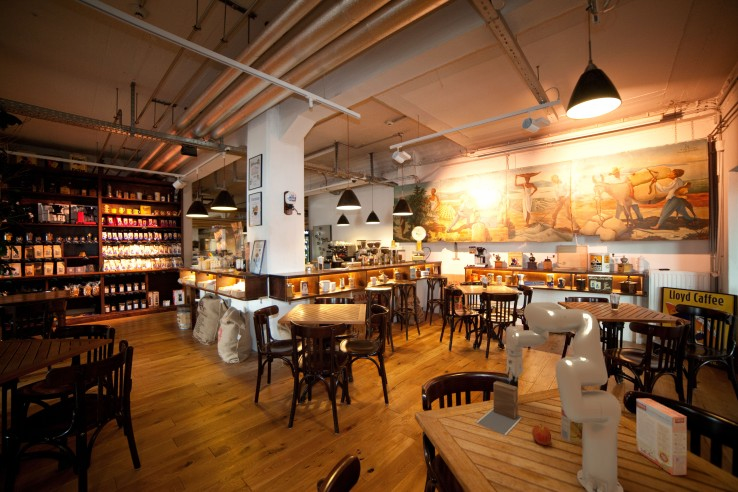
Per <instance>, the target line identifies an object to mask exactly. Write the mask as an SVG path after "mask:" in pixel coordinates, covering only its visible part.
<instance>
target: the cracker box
mask: <svg viewBox="0 0 738 492" xmlns="http://www.w3.org/2000/svg"><path fill="white" fill-rule="evenodd" d="M635 401H636V406H635V407H636V415H635V416H636V427H635V428H636V432H635V433H636V434H635V435H636V439H635V441H636V445H635V446H636V451H637V452H638V453H640V454H641V455H642V456H644V457H645V458H646V457H647V458H646V459H648V460H649V461H651V462H652V463H654V464H655V465H656V466H658V467H659V466H660V467H659V468H661V469H662V468H663V469H662V470H663V471H665V472H666V473H668V474H669V473H670V475H671V476H687V474H688V473H687V472H688V471H687V469H688V467H687V466H688V465H687V464H688V459H687V458H688V457H687V454H688V453H687V451H688V450H687V449H688V448H687V445H688V444H687V439H688V438H687V437H688V435H687V434H688V432H687V428H688V427H687V421H688V420H687V416H686V415H684V414H682V413H679V412H678V411H676V410H674V409H672V408H670V407H667V406H665V404H661V403H659V402H657V401H656V400H653V399H652V398H647V397H646V398H636V399H635Z"/></svg>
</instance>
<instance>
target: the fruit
mask: <svg viewBox="0 0 738 492" xmlns="http://www.w3.org/2000/svg"><path fill="white" fill-rule="evenodd" d="M531 433H532V434H531V435H532V437H533V439H534V441H536V443H538V444H539V445H542V446H546V445H549V444H550V442H552V433H551V431H550V429H549V428H548V426H546V425H542V423H540V424H536V425H534V426H533V427H532V429H531Z"/></svg>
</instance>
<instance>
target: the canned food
mask: <svg viewBox="0 0 738 492" xmlns="http://www.w3.org/2000/svg"><path fill="white" fill-rule="evenodd" d="M560 412H561V413H560V415H561V416H560V417H561V418H560V422H561V423H560V424H561V426H560V427H561V428H560V429H561V431H560V432H561V433H560V434H561V438H562V439H564V440H565V441H567V442H569V443H571V444H577V445H581V444H582V430H583V424H584V423H576V422H573V421H571V420H570V419H568V417H567V416H566V415H565V413H564V411H563V408H562V406H561V411H560ZM580 443H581V444H580Z"/></svg>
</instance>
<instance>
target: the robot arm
mask: <svg viewBox="0 0 738 492" xmlns="http://www.w3.org/2000/svg"><path fill="white" fill-rule="evenodd" d="M523 315H524V318H525V320H526V322H527V326H528V327H529V330H528V329H527V330H525V329H524V330H523V329H522V328H521V327H519V326H514V325H513V326H512V325H511V326H507V327H506V329H505V353H506V354H505V355H506V356H507V357H506V375H507V376H508V379H509V381H510V384H509V385H512V386H515V387H518V388H519V376H521V375H522V374H523V373H524V363H523V362H524V361H523V348H526V347H527V348H528V347H532V348H533V347H541V346H542V345H544V344H545V343H546V342H547V341H548V340H549V335H550V333H568V332H569V333H572V332H573V333H575V335H574V337H573V339H572V342H571V344H572V349H573V357H567V356H566V357H562V358H561V359H558V361H557V362H556V365H555V378H556V383H557V387H558V388H557V389H558V395H559V400H560V404H561V407H562V408H563V411H564V413H565V415H566V416H567V417H568V419H570V420H571V421H573V422H576V423H583V430H582V443H581V445H582V446H581V447H582V449H581V451H582V454H581V455H582V457H581V458H582V462H581V463H582V464H581V466H582V467H581V468H582V469H579V470H578V471H577V474H576V477H577V481H578V483H579V484H580V485H581V486H582V487H583V489H585V490H586V491H587V492H624V488H623V486H622V485H621V483H620V482H619V481H618V433H619V426H620V425H619V424H620V421H621V416H622V407H621V404H620V401H619V400H618V398H617V396H615V395H614V394H612V393H611V392H608V391H605V390H603V389H602V390H601V389H589V390H586V389H584V390H582V388H583V387H585V388H586V387H599V386H604V385H605V384H607V382H608V378H609V377H608V371H607V366H606V361H605V357H604V353H603V349H602V344H601V335H600V334H601V333H600V332H601V331H600V329H601V328H600V325H599V322H598V320H597V318H596V316H595V315H594V314H592V312H590V311H588V310H586V309H581V308H579V309H578V308H562V307H561V306H560V305H559V304H557V303H555V302H552V301H551V302H548V301H546V302H545V301H544V302H543V301H542V302H536V301H535V302H529V303H528V304H527V305H526V306H525V308H524V310H523Z"/></svg>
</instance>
